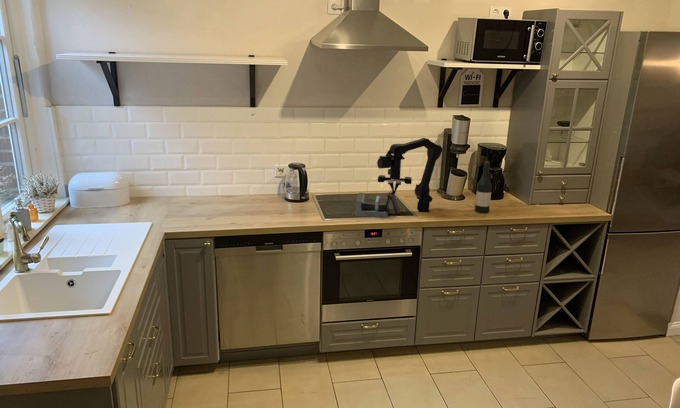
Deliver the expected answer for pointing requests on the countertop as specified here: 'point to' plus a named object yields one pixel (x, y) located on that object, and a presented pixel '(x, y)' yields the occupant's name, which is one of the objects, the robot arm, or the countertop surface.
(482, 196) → the wine bottle
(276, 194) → the countertop surface
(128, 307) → the countertop surface
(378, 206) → the paddle
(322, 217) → the countertop surface
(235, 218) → the countertop surface
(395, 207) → the phone stand
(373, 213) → the gauge frame
